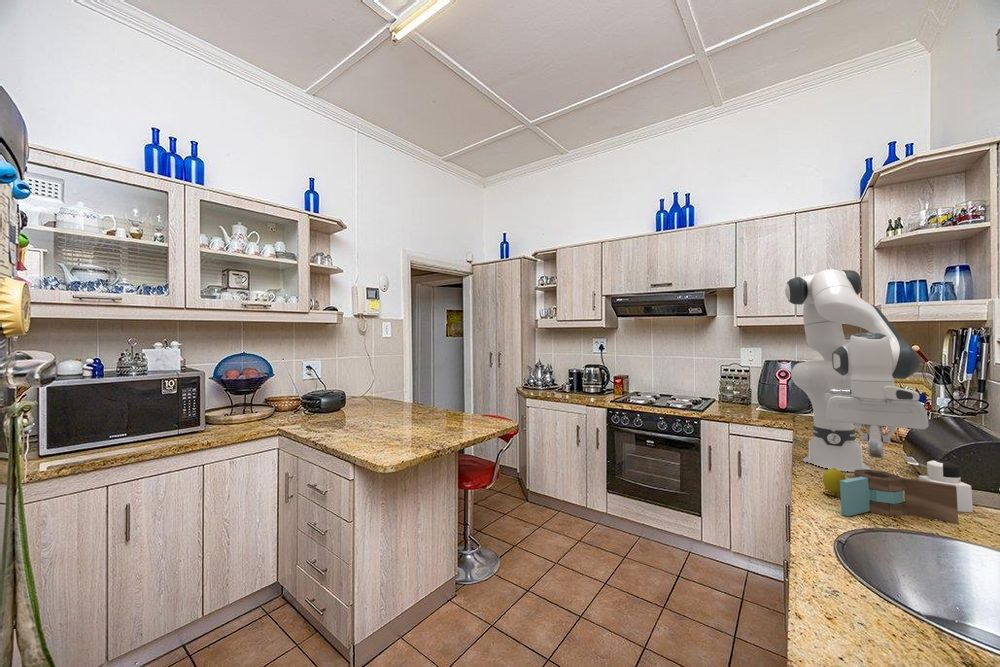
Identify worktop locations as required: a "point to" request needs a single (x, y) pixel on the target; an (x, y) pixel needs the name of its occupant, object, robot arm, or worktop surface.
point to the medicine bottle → (950, 482)
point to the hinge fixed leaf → (913, 496)
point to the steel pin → (875, 441)
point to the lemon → (833, 480)
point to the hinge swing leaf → (863, 496)
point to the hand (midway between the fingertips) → (875, 441)
